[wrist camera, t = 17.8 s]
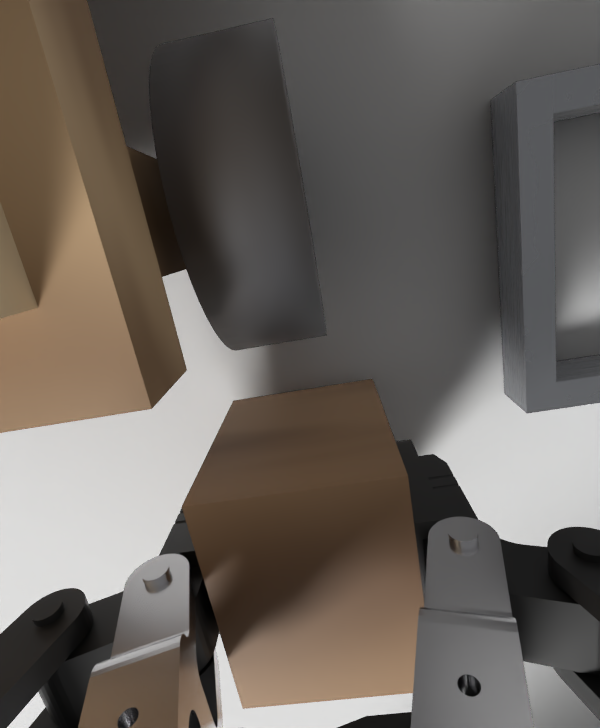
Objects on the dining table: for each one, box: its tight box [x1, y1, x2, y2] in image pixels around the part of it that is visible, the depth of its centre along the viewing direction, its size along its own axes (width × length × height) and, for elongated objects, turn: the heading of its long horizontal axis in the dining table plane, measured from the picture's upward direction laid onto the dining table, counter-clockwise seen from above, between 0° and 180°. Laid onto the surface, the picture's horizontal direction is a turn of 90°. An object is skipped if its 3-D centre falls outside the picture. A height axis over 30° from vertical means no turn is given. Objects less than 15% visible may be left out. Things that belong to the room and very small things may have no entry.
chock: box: [182, 379, 424, 709], centre depth 11 cm, size 5×4×5 cm
